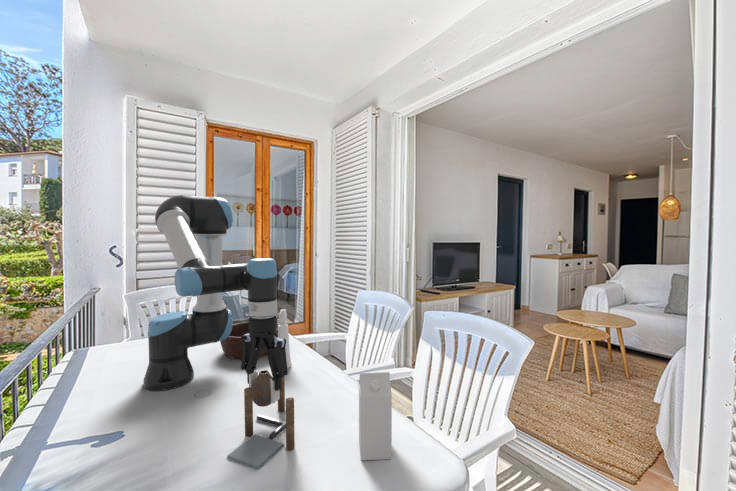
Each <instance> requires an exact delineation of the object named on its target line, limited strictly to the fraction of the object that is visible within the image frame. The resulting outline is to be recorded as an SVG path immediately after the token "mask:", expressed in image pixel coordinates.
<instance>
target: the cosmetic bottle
mask: <svg viewBox="0 0 736 491" xmlns="http://www.w3.org/2000/svg"><path fill="white" fill-rule="evenodd" d="M278 317H279V319H278V320H279V323H278V338H280V339H286V345H285V351H286V360H287V369H289V368H291V367H292V364H293V363H292V358H291V351H290V337H289V336H290V335H289V324H288V321H287V320H288V318H287V317H288V312H287V309H285V308H283V309H280V311H279V316H278Z"/></svg>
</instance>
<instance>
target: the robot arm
mask: <svg viewBox="0 0 736 491" xmlns="http://www.w3.org/2000/svg"><path fill="white" fill-rule="evenodd" d="M154 219H155V220H154V222H155V225H156V227H157V228H156V229H157V230H158V231H159V232H160V233H161V234H163V235H164V237H165V239H166V242H167V245H168V247H169V249H170V251H171V254H172V256H173V258H174V260H175V261H174V262H176V265H177V268H178V269H176V270H175V273H174V287H175V288H174V289H175V291H176V294H177V295H178V296H180V297H196V304H195V305H194V306H193V307H192V313H191V314H188V313H187V312H186V311H183V310H178V311H171V312H170V311H169V312H167V313H162V314H159V315H157V316H155V317H152V319H151V320H150V321H149V322H148V326H147V336H148V339H147V340H148V365H147V368H146V372H145V375H144V377H143V388H144V389H145V390H147V391H151V392H153V391H155V392H157V391H159V392H160V391H169V390H173V389H176V388H179V387H183V386H184V385H186V384H187V385H188V384H189V383H190V382H191V381H192V380H193V379H194V377H195V375H194V374H195V373H194V368H193V365H192V363H191V360H190V358H189V356H188V354H189V353H188V352H189V351H188V349H190V348H195V347H199V346H203V345H208V344H215V343H218V342H220V341H222V340H225V339H227V338H228V337H229V335H230V333H231V331H232V326H233V324H234V320H233V319H234V317H233V314H232V311H231V310H230V309H229V308H227V305H226V304H225V303H224V301H223V293H229V292H237V291H247V308H248V316H249V317H248V321H247V322H248V323H249V331H250V333H248V334H245V335H242V336H241V338H242V343H243V345H242V360H240V362H241V364H240V369H241V371H245V373H246V376H247V377H246V379H247V384H248V387H252V384H253V382H254V380H255V379H256V378H257V376H258V375H259V370H257V369H258V368H257V365H258V362H259V359H260V358H259V355H260V351H261V350H263V351H264V354H265V355H267V356H266V358H267V362H268V365H269V368H270V371H271V372H270V373H271V376H272V377H273V378H272V379H271V405H272V404H275V403H277V402H278V400H279V399H280V389H281V378H282V377H284V376H285V377H286V376H287V375H288V373H289V370H288V368H287V360H286V351H285V345H286V339H280V338H277V334H276V329H277V324H278V315H277V313H278V277H277V276H278V270H277V261H276V260H275V259H274V258H270V257H269V258H267V257H264V258H263V257H261V258H260V257H259V258H251V259H249V260H248V261H247V262H238V263H235V264H223V238H225V236H226V235H228V233H227V230H230V229H231V228H232V226H233V224H234V223H233V221H234V220H233V211H232V207H231V206H230V203H229V202H228V200H226V199H225V198H223V197H217V196H201V195H181V194H180V195H175V196H171V197H168V198H167V199H165V200H164V201H163V202H162V203H161V204H160V205H159V206H158V208H157V210H156V212H155V216H154ZM275 343H276V345H275ZM269 349H271V350H269Z"/></svg>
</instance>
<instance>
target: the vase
mask: <svg viewBox="0 0 736 491" xmlns="http://www.w3.org/2000/svg"><path fill="white" fill-rule="evenodd" d="M270 373H271V372H270V371H269V370H266V369H263V370H260V371H258V376H257V378H256V379H255V380H254V382H253V384H252V387H251V388H252V392H253V404H255V405H256V406H258V407H262V408H264V407H268V406H270V405H272V403H271V379H272V378H273V376H272V374H270Z"/></svg>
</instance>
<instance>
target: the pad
mask: <svg viewBox="0 0 736 491" xmlns="http://www.w3.org/2000/svg"><path fill="white" fill-rule="evenodd" d="M283 447H284V443H283V442H281V441H277V440H274V439H273V440H272V439H269V437H265V436H261V435H259V434H253V435H252V436H250V437H249V438H248V439H247V440H246V441H244V442H243V443H242V444H240V445H239V446H238V447H236V448H235V449H234V450H233V451H231V452H230V453H229V454H227V456H226V457H227V459H229V460H232V461H234V462H237V463H239V464H243V465H245V466H248V467H250V468H253V469H256V470H259V469H260V468H261V467H262V466H263V465H264V464H265V463H266V462H267V461H268V460H270V459H271V458H272V456H274V455H275V454H277V452H279V451H280V450H281V449H282V448H283Z"/></svg>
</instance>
